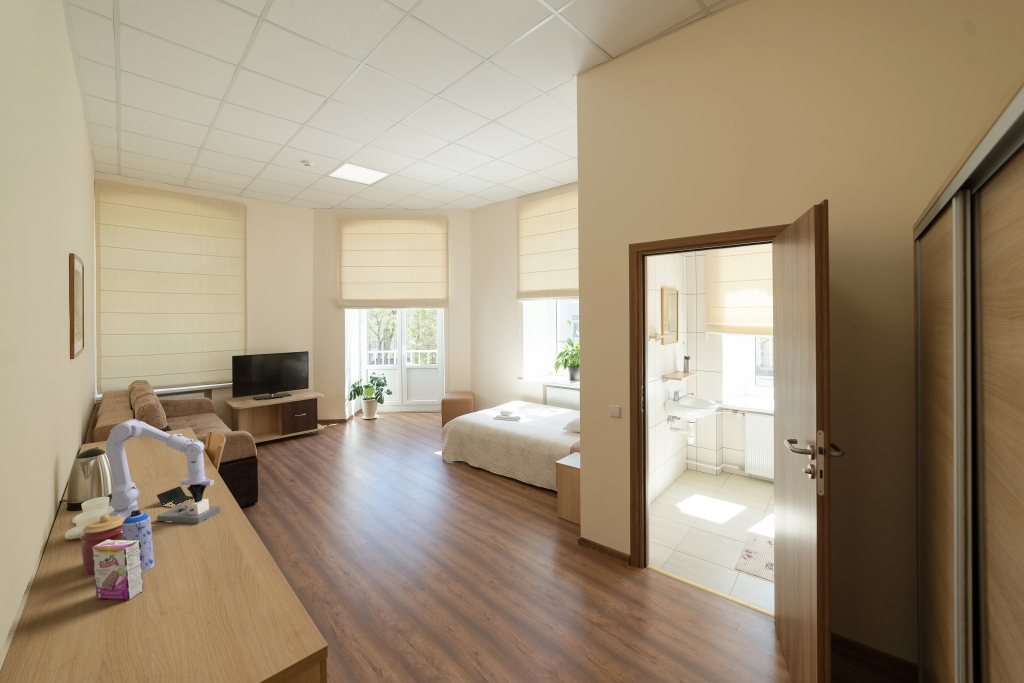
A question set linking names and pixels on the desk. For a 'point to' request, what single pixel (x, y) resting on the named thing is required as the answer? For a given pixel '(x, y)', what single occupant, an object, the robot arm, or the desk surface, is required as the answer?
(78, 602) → the desk surface
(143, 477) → the desk surface
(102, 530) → the canister
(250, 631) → the desk surface
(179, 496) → the black angular piece
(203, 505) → the plug
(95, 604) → the desk surface
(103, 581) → the candy bar box
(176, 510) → the socket
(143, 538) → the aerosol can
